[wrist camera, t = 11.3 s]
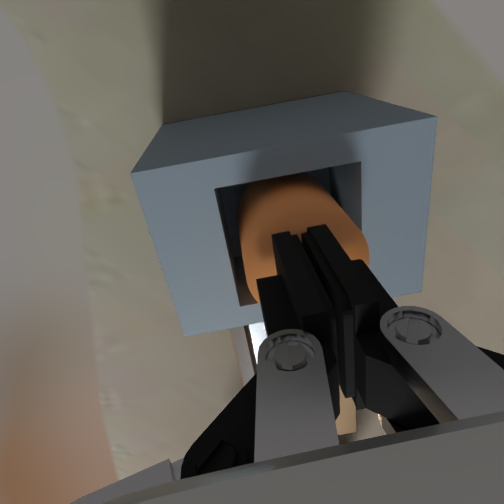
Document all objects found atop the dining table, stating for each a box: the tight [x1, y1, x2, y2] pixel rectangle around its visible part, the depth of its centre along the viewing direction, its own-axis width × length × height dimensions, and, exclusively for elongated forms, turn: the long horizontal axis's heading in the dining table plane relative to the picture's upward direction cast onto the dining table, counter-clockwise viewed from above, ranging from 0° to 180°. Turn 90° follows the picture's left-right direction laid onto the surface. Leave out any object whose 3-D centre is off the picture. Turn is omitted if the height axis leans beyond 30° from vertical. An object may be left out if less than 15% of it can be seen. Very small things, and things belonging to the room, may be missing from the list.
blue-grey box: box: [130, 91, 437, 337], centre depth 17 cm, size 10×7×9 cm
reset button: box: [236, 172, 369, 304], centre depth 13 cm, size 4×4×4 cm
